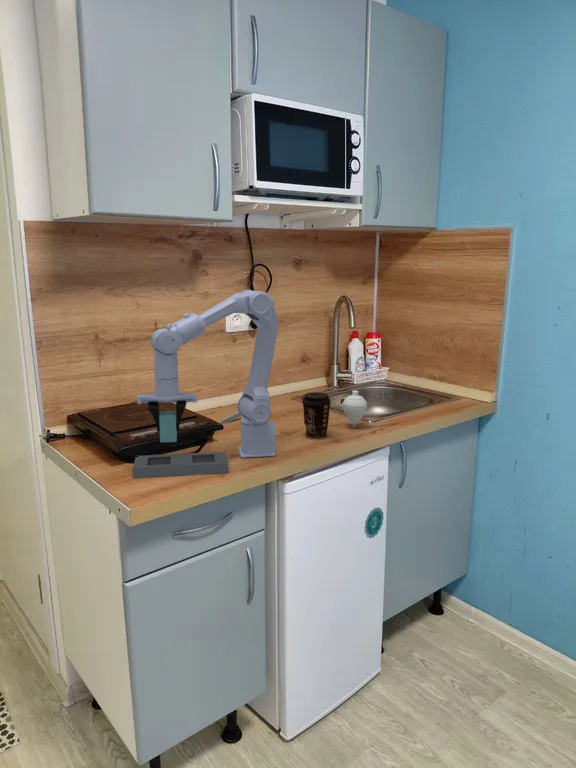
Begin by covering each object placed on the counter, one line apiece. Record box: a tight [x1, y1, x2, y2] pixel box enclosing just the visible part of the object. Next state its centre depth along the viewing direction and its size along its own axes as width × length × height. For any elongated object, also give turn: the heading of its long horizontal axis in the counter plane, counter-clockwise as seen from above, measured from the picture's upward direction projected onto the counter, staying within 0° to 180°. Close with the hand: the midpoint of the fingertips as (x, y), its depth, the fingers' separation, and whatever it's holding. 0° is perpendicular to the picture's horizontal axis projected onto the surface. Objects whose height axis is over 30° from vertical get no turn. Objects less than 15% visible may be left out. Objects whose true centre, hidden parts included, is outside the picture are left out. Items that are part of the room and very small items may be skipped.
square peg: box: [159, 410, 178, 443], centre depth 143 cm, size 4×4×7 cm
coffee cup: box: [301, 391, 331, 440], centre depth 169 cm, size 9×8×13 cm
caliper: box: [218, 411, 242, 424], centre depth 188 cm, size 20×1×6 cm, turn 136°
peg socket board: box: [132, 451, 229, 479], centre depth 142 cm, size 23×9×2 cm, turn 100°
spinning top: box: [342, 390, 368, 428], centre depth 178 cm, size 8×8×12 cm
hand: (168, 430), depth 143 cm, fingers closed on square peg, 4 cm apart
